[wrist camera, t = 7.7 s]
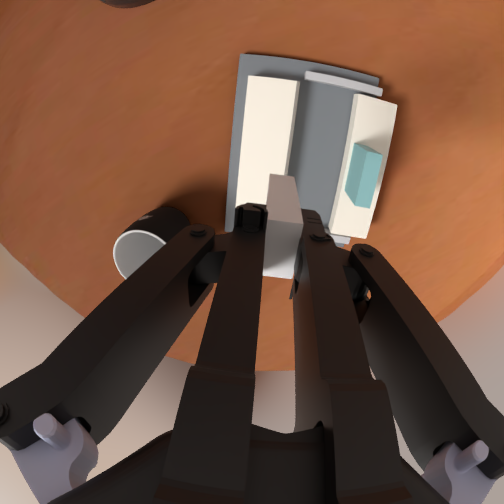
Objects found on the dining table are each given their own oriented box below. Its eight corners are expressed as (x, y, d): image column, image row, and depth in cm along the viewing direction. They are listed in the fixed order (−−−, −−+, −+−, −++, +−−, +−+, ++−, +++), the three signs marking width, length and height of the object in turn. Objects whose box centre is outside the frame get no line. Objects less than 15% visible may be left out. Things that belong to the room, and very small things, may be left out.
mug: (169, 186, 38) (139, 214, 29) (211, 231, 41) (193, 270, 32) (123, 233, 42) (91, 267, 34) (161, 270, 46) (137, 311, 37)
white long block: (353, 93, 28) (373, 93, 22) (390, 104, 28) (416, 107, 22) (328, 226, 37) (338, 254, 31) (362, 231, 37) (376, 259, 31)
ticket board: (241, 55, 28) (237, 50, 25) (376, 78, 28) (386, 77, 25) (226, 227, 40) (221, 239, 37) (341, 243, 40) (346, 256, 37)
